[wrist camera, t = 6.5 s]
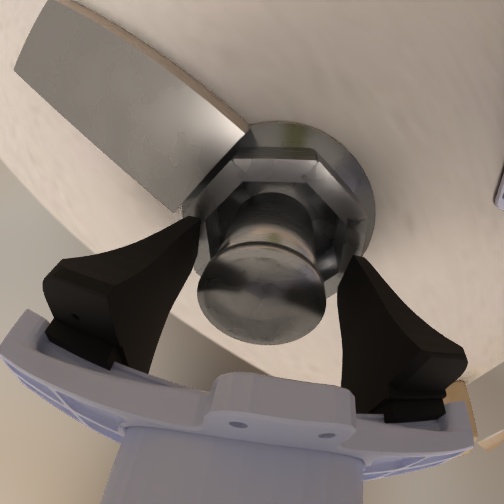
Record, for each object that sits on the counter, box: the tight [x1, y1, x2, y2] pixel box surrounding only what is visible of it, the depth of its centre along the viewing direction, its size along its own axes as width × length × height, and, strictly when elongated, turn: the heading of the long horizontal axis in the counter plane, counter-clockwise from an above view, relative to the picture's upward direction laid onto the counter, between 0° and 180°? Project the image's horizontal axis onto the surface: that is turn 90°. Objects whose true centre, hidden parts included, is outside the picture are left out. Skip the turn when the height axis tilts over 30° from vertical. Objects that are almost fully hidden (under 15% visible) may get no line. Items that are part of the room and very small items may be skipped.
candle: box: [443, 381, 478, 456], centre depth 21 cm, size 6×6×10 cm
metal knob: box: [197, 192, 326, 345], centre depth 13 cm, size 5×5×6 cm
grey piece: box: [14, 0, 375, 299], centre depth 12 cm, size 26×11×3 cm, turn 47°
